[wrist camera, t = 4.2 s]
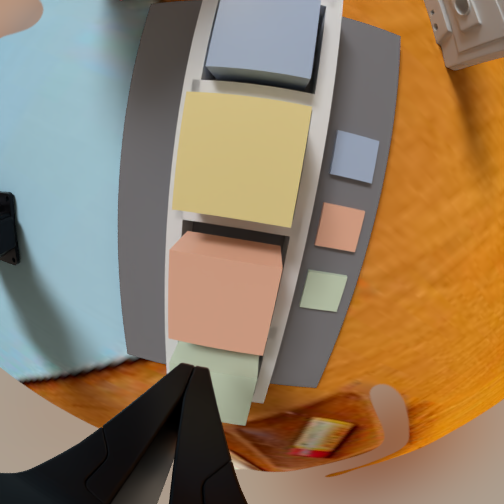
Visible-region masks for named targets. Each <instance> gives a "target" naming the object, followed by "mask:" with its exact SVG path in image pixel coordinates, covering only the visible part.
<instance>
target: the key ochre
mask: <svg viewBox="0 0 504 504" xmlns="http://www.w3.org/2000/svg"><path fill="white" fill-rule="evenodd" d="M311 111H312V107H311V106H306V105H301V104H296V103H290V102H285V101H279V100H272V99H266V98H259V97H251V96H242V95H233V94H222V93H208V92H188V91H186V97H185V103H184V109H183V115H182V122H181V129H180V136H179V144H178V152H177V160H176V169H175V179H174V190H173V201H172V210H180V211H187V212H194V213H201V214H207V215H214V216H221V217H227V218H234V219H240V220H246V221H253V222H259V223H265V224H271V225H277V226H283V227H289V228H291V225H292V220H293V214H294V209H295V204H296V199H297V193H298V188H299V182H300V177H301V171H302V165H303V160H304V154H305V148H306V142H307V136H308V130H309V124H310V118H311Z"/></svg>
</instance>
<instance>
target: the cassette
mask: <svg viewBox="0 0 504 504" xmlns="http://www.w3.org/2000/svg"><path fill="white" fill-rule="evenodd" d="M424 2H425V5H426V8H427V11H428V14H429V18H430V21H431V24H432V28H433V32H434V35H435V39H436V43H437V44H439V45H440V46H441V48H442V52H443V57H444V62H445V66H446V67H447V68H450V69H452V70H459V69H463V68H466V67H469V66H472V65H476V64H479V63H483V62H487V61H490V60H494V59H498V58H502V57H504V0H424Z"/></svg>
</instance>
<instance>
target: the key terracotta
mask: <svg viewBox="0 0 504 504" xmlns="http://www.w3.org/2000/svg"><path fill="white" fill-rule="evenodd" d="M282 269H283V267H282V256H281V246H278V245H272V244H266V243H260V242H254V241H248V240H242V239H236V238H229V237H223V236H217V235H211V234H204V233H198V232H191V231H187V232H186V233H185V234H184V235H183V236H182V237H181V238H180V239H179V240H178V241H177V242H176V243H175V244H174V245H173V246H172V247H171V249H170V250H169V276H168V338H169V339H174V340H178V341H183V342H187V343H192V344H197V345H202V346H207V347H212V348H218V349H223V350H229V351H235V352H241V353H247V354H254V355H261V356H263V354H264V349H265V345H266V341H267V337H268V332H269V328H270V324H271V319H272V315H273V310H274V306H275V301H276V297H277V292H278V288H279V283H280V278H281V274H282Z"/></svg>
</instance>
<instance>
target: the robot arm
mask: <svg viewBox="0 0 504 504" xmlns="http://www.w3.org/2000/svg"><path fill="white" fill-rule="evenodd" d="M0 260H2V261H5V262H7V263H10V264H13V265H17V264H18V263H19V262H20V259H19V253H18V246H17V238H16V229H15V218H14V204H13V195H12V193H11V192H1V191H0ZM173 460H174V465H173V472H172V482H171V490H170V500H169V504H248V503H247V501H246V499H245V497H244V495H243V492H242V490H241V488H240V485H239V482H238V479H237V476H236V473H235V470H234V466H233V463H232V462H231V456H230V453H229V449H228V445H227V441H226V438H225V434H224V430H223V426H222V422H221V418H220V414H219V410H218V406H217V402H216V397H215V393H214V389H213V384H212V380H211V375H210V370H209V368H207V367H202V366H194V365H192V364H187V363H180V364H179V365H177V366H176V367H175V368H174V369H173V370H171V371H170V372H169V373H168V374H167V375H165V376H164V377H163V378H162V379H161V380H159V381H158V382H157V383H156V384H155V385H153V386H152V387H151V388H150V389H148V390H147V391H146V392H145V393H144V394H142V395H141V396H140V397H139V398H137V399H136V400H135V401H134V402H132V403H131V404H130V405H129V406H127V407H126V408H125V409H124V410H122V411H121V412H120V413H119V414H117V415H116V416H115V417H114V418H112V419H111V420H110V421H108V422H107V423H106V424H105V425H103V428H102V427H101V428H99V429H98V430H97V431H95V432H94V433H93V434H91V435H90V436H89V437H87V438H86V439H84V440H83V441H82V442H80V443H79V444H77V445H75V446H73V447H72V448H70V449H68V450H67V451H65V452H63V453H61V454H59V455H57V456H56V457H54V458H52V459H50V460H48V461H46V462H44V463H42V464H40V465H38V466H36V467H34V468H32V469H29V470H27V471H23V472H18V473H0V504H157V503H158V500H159V497H160V495H161V492H162V489H163V487H164V484H165V481H166V478H167V476H168V473H169V471H170V468H171V465H172V463H173Z"/></svg>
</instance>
